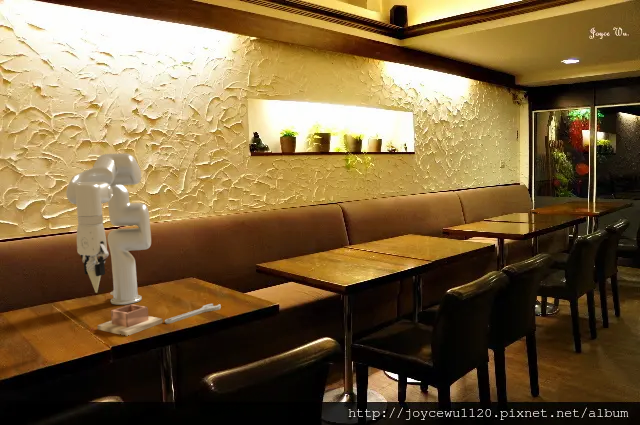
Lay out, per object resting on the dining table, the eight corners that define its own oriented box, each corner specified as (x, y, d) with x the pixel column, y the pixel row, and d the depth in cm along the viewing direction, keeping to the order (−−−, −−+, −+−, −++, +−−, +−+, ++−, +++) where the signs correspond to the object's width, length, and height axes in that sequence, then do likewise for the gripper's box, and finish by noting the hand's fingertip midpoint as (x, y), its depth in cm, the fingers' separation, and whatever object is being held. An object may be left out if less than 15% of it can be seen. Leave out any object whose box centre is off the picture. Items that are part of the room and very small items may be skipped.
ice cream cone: (91, 291, 174) (87, 247, 172) (106, 290, 174) (103, 247, 173) (85, 295, 169) (82, 250, 167) (101, 294, 169) (98, 250, 168)
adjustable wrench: (167, 325, 188) (167, 321, 188) (158, 322, 193) (158, 317, 193) (223, 309, 207) (222, 304, 206) (213, 306, 211) (213, 302, 211)
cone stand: (97, 329, 185) (96, 311, 184) (133, 316, 198) (132, 300, 198) (126, 336, 177) (125, 317, 176) (162, 322, 190) (161, 305, 190)
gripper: (64, 221, 170) (69, 274, 172) (96, 223, 161) (101, 279, 163) (84, 218, 176) (89, 269, 179) (117, 220, 168) (121, 274, 170)
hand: (94, 273), depth 171 cm, fingers closed on ice cream cone, 5 cm apart
